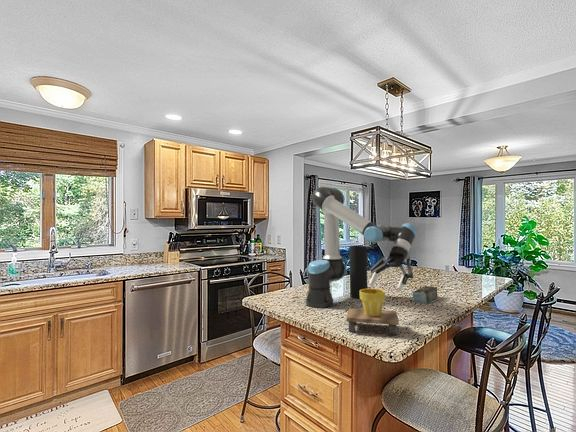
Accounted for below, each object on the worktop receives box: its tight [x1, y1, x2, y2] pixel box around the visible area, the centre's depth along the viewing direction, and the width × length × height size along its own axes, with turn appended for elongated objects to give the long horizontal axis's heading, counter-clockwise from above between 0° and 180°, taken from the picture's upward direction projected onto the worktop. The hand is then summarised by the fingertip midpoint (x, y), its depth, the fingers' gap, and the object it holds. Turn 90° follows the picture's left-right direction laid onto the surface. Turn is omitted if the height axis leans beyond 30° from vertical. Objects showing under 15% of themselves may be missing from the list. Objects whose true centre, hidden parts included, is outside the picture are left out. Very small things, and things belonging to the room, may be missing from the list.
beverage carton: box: [412, 285, 439, 305], centre depth 176 cm, size 8×19×7 cm, turn 138°
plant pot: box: [359, 288, 386, 317], centre depth 129 cm, size 10×10×10 cm
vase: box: [348, 245, 368, 300], centre depth 186 cm, size 10×10×30 cm
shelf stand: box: [345, 307, 400, 337], centre depth 129 cm, size 20×14×6 cm
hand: (384, 287), depth 137 cm, fingers open, 13 cm apart
